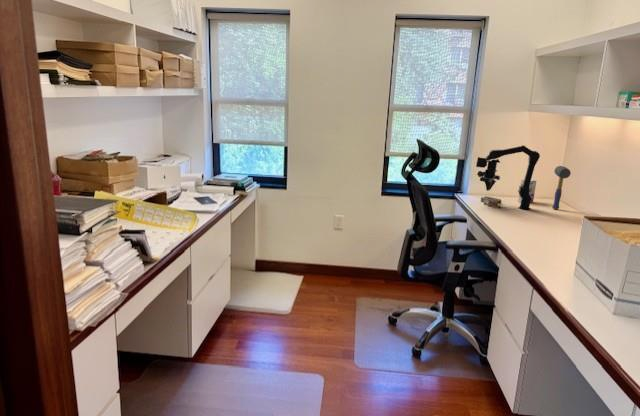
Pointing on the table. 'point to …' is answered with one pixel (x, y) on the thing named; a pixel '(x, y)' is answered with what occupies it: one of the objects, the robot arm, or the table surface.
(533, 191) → the candy bar box
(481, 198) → the block
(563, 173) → the rubber mallet
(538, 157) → the robot arm
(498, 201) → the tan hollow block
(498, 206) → the brass rod
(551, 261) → the table surface
